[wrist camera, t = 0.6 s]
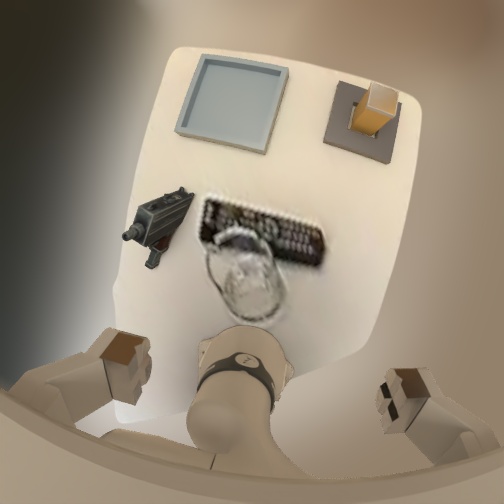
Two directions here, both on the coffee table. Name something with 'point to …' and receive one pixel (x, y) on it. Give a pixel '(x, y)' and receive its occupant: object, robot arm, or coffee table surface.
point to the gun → (158, 223)
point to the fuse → (375, 109)
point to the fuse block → (356, 141)
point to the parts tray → (233, 102)
